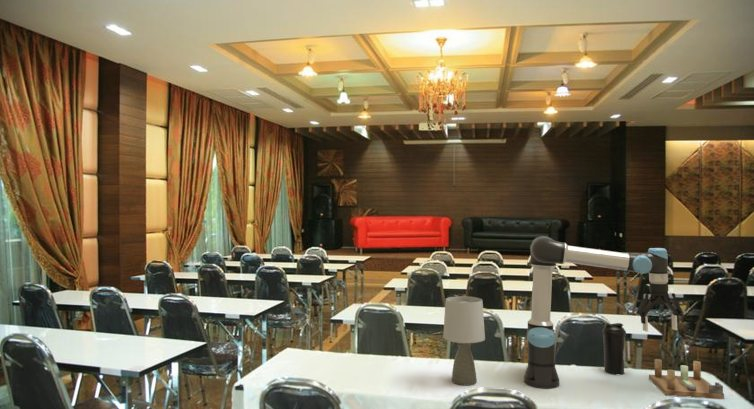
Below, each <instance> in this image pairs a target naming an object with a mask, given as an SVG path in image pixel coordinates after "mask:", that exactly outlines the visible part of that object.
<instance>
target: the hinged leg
mask: <svg viewBox="0 0 754 409" xmlns="http://www.w3.org/2000/svg"><path fill="white" fill-rule="evenodd" d="M680 376H681V383H682V384H683V385H684V386H685V387H687V389H688V390H692V391H696V386H695V385H693V384H692V383H691V382H690V381H688V376H689V366H688V365H685V364H682V365H681V364H680Z"/></svg>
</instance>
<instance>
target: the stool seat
mask: <svg viewBox="0 0 754 409" xmlns="http://www.w3.org/2000/svg"><path fill="white" fill-rule="evenodd" d="M662 362H663V361H662V359H660V358H655V359H654V374H648V380H650V381H651V382H652V384H654V385H655V386H656V387H657V388H658V389H659V390H660V391H661V392H662V394H664V395H665V396H667V395H677V396H676V397H686V396H691V397H690V398H701V397H705V398H706V399H719V400H724V399H725V394H724V386H723V384H721V383H720V382H717V381H716V382H714V384H711V383H710V382H709V381H708V380H706V379H705V378H703V377H702V373H701V372H702V371H701V370H702V368H701V367H702V366H701V365H702V364H701V363H702V362H701V361H700V360H699V361H698V360H693V361H692V362H693V363H692V364H693V369H692V370H693V371H692V372H693V373H692V374H693V376H689V375H688V381H690V382H691V383H692V384H693V385H695V386H696V391H692V390H688V389H687V387H685V386H684V385H683V384H682V383H681V375H675V372H676V371H675V369H667V370H666V375H665V374H663V370H662V369H663V365H662V364H663V363H662ZM705 398H704V399H705Z"/></svg>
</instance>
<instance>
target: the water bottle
mask: <svg viewBox="0 0 754 409" xmlns="http://www.w3.org/2000/svg"><path fill="white" fill-rule="evenodd" d="M623 326H624V324H623V323H620V322H616V323H609V322H605V323H604V327H603V328H602V329H601V330H602V336H603V360H604V364H603V366H604V372H605V373H606V374H610V375H615V376H617V375H616V374H621V375H624V374H625V355H626V336H627V332H626V331H627V330H625V328H624V327H623ZM623 373H624V374H623Z"/></svg>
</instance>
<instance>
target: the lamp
mask: <svg viewBox="0 0 754 409" xmlns="http://www.w3.org/2000/svg"><path fill="white" fill-rule="evenodd" d="M444 304H445V305H444V320H443V333H442V334H443V335H442V336H443V340H446V341H448V342H451V343H457V347H458V348H457V351H456V353H455V357H454V360H453V367H452V370H451V371H452V372H451V382H452V383H453V384H455V385H459V386H472V385H475V384H476V383H477V382H478V379H477V371H476V365H475V360H474V357H473V353H472V351H471V346H472V344H477V343H482V342H484V341H485V340H486V334H485V333H486V332H485V320H484V319H485V318H484V317H485V316H484V304H483V299H482V298H480V297H476V296H449V297H447V298H445V302H444Z"/></svg>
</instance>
